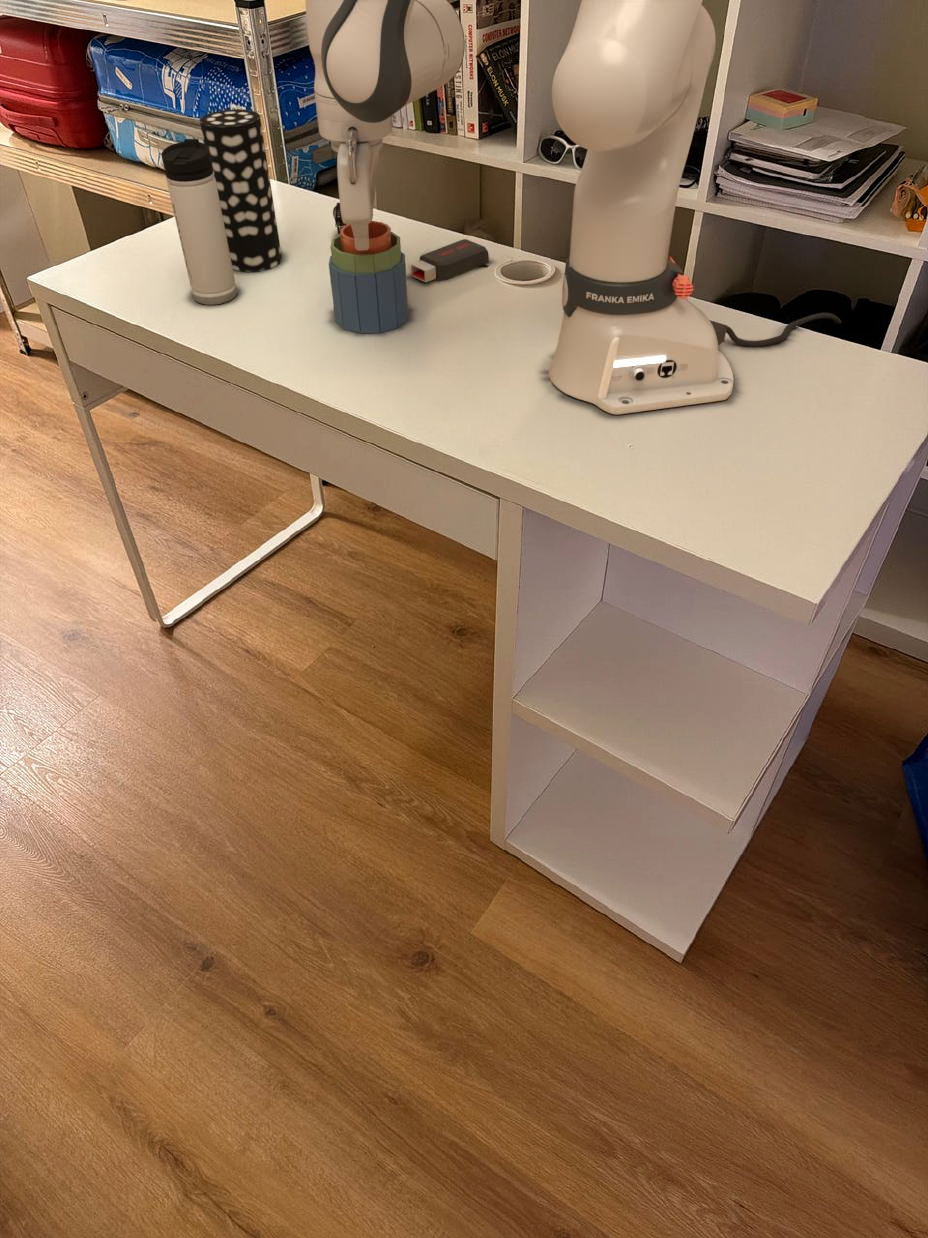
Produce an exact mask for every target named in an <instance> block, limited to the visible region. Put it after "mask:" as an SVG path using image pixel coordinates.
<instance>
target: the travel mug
mask: <svg viewBox="0 0 928 1238" xmlns="http://www.w3.org/2000/svg"><path fill="white" fill-rule="evenodd" d="M160 154H161V160H162V164H163V165H162V166H163V169H164V172H165V174H164V175H165V180H166V184H167V187H168V189H167V190H168V193H169V198H170V202H171V206H172V210H173V214H174V219H175V223H176V224H175V225H176V228H177V232H178V236H179V242H180V245H181V250H182V255H183V259H184V263H185V267H186V272H187V276H188V281H189V285H190V289H191V292H192V293H191V294H192V299H193V300H195V302H197V303H199V304H202V305H208V306H214V305H221V304H225V303H228V302H230V301H231V300H233V299H235V297H236V296H237V294H238V290H237V284H236V279H235V274H234V269H233V268H232V263H231V258H230V253H229V247H228V242H227V237H226V232H225V227H224V221H223V216H222V211H221V206H220V201H219V195H218V190H217V185H216V180H215V177H214V171H213V167H212V161H211V156H210V151H209V147H208V146H207V145H206V144H204V142H201V141H200V140H199V138H185V139H184V140H183V141H181V142H176V143H173V144H170V145H169V146H167V147H165V148H164V149H163V150H162V151H161V153H160Z"/></svg>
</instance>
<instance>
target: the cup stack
mask: <svg viewBox="0 0 928 1238" xmlns="http://www.w3.org/2000/svg"><path fill="white" fill-rule="evenodd" d="M391 238H392V248H391V249H389V250H387V251H383V252H379V253H375V254H362V255H355V254H350V253H345V252H342V245H341V236H340V234H338V235H336V236H334V237H333V238H331V241H330V252H331V253H330V254H331V255H330V256H329V260H328V270H329V278H330V286H331V287H330V288H331V297H332V303H333V312H334V313H333V314H334V320H335V323H336V324H337V325H339V326H340V327H341V328H342V329H343V330H345V331H350V332H354V333H357V334H380V333H381V334H382V333H385V332H388V331H391V330H395V329H398V328H400V327H401V326H403V324H405V323H406V322H407V321H409V302H408V301H409V300H408V299H409V298H408V286H407V285H408V284H407V268H406V254H405V253H404V252H403V251H402V246H401V245H402V244H401V237H400V236H399V235H398V234H396V233H394V232H393V231H391Z"/></svg>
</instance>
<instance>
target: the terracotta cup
mask: <svg viewBox="0 0 928 1238" xmlns="http://www.w3.org/2000/svg"><path fill="white" fill-rule="evenodd" d="M368 228H369V240H370V246H369V249H368V250H357V249H356V248H355V241H354V235H353V231H352V228H351V224H348V225H345V226H344V227H343V228H342V229H341V231H340V236H341V245H342V252H345V253H350V254H355V255H362V254H375V253H379V252H383V251H387V250H389V249H391V248H392V238H391V232H392V228H391V227H390V226H389V224H388V223H384V222H381V221H377V220H376V221H375V220H372V221H371V223H369V224H368Z"/></svg>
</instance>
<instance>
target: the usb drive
mask: <svg viewBox="0 0 928 1238" xmlns="http://www.w3.org/2000/svg"><path fill="white" fill-rule="evenodd" d="M489 262H490V254H489V250H488V249H487V247H486V246H484V245H482V244H479V243H477V242H475V241H472V240H469V239H467V238H464V239H460V240H457V241H455V242H453V243H450V244H447V245H445V246H441V247H439V248H437V249H435V250H431V251H429V252H426V253H424V254H421V255H420V256H419V260H418V261H415V262H413V263H411V264H410V276H411V277H413V278H415V279H418V280H419V281H421V282H423V283H428V282H430V281H433V280H435V281H437V282H438V281H445V280H448V279H451V278H453V277H456V276H459V275H461V274H464V273H466V272H468V271H471V270H473V269H476V268H478V267H481V266H483V265H485V264H488V263H489Z"/></svg>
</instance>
